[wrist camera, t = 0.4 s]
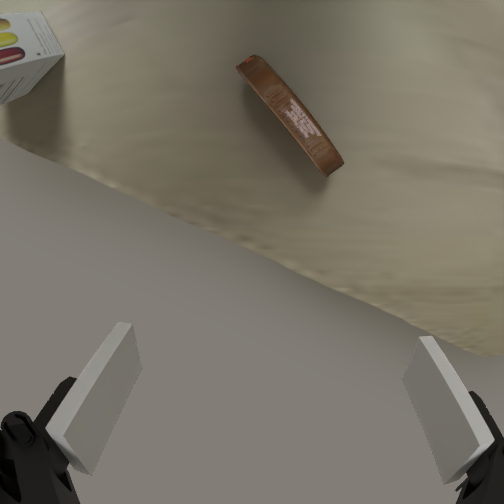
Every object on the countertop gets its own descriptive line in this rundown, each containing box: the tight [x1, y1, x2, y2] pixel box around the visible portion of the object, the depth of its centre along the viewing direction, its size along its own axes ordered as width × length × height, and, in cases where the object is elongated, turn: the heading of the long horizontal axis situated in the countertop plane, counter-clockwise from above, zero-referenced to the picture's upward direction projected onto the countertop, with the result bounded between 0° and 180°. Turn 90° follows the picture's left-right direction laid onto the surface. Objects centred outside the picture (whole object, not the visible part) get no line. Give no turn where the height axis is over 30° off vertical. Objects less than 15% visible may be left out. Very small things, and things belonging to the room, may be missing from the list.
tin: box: [236, 55, 344, 178], centre depth 29 cm, size 15×3×8 cm, turn 40°
